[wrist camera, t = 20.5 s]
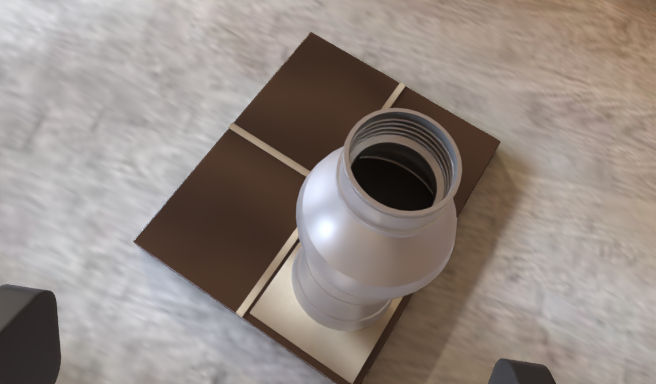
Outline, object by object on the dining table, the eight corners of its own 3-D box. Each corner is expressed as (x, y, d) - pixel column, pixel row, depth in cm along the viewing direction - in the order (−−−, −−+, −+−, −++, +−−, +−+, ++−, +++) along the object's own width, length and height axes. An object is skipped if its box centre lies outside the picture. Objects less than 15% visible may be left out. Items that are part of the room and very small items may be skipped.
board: (352, 395, 32) (354, 395, 31) (137, 245, 35) (131, 240, 33) (495, 148, 40) (501, 140, 38) (310, 40, 42) (310, 30, 41)
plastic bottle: (334, 220, 35) (384, 32, 16) (407, 284, 34) (551, 159, 15) (270, 286, 33) (246, 157, 14) (346, 357, 32) (425, 317, 13)
